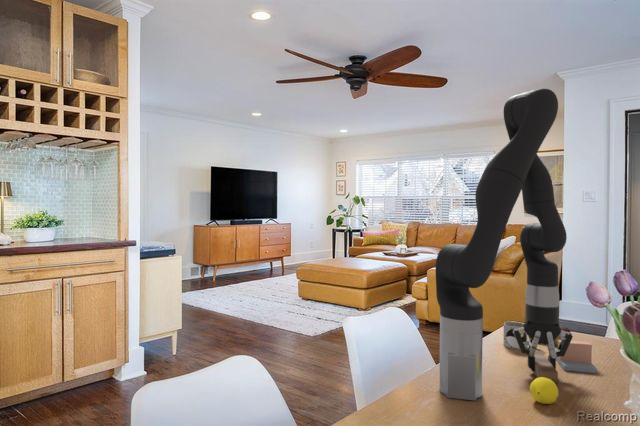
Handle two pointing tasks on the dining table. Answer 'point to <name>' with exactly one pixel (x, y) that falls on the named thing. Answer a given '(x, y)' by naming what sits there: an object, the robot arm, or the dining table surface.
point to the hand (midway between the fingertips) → (541, 370)
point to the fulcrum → (577, 357)
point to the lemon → (544, 390)
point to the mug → (510, 337)
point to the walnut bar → (544, 368)
